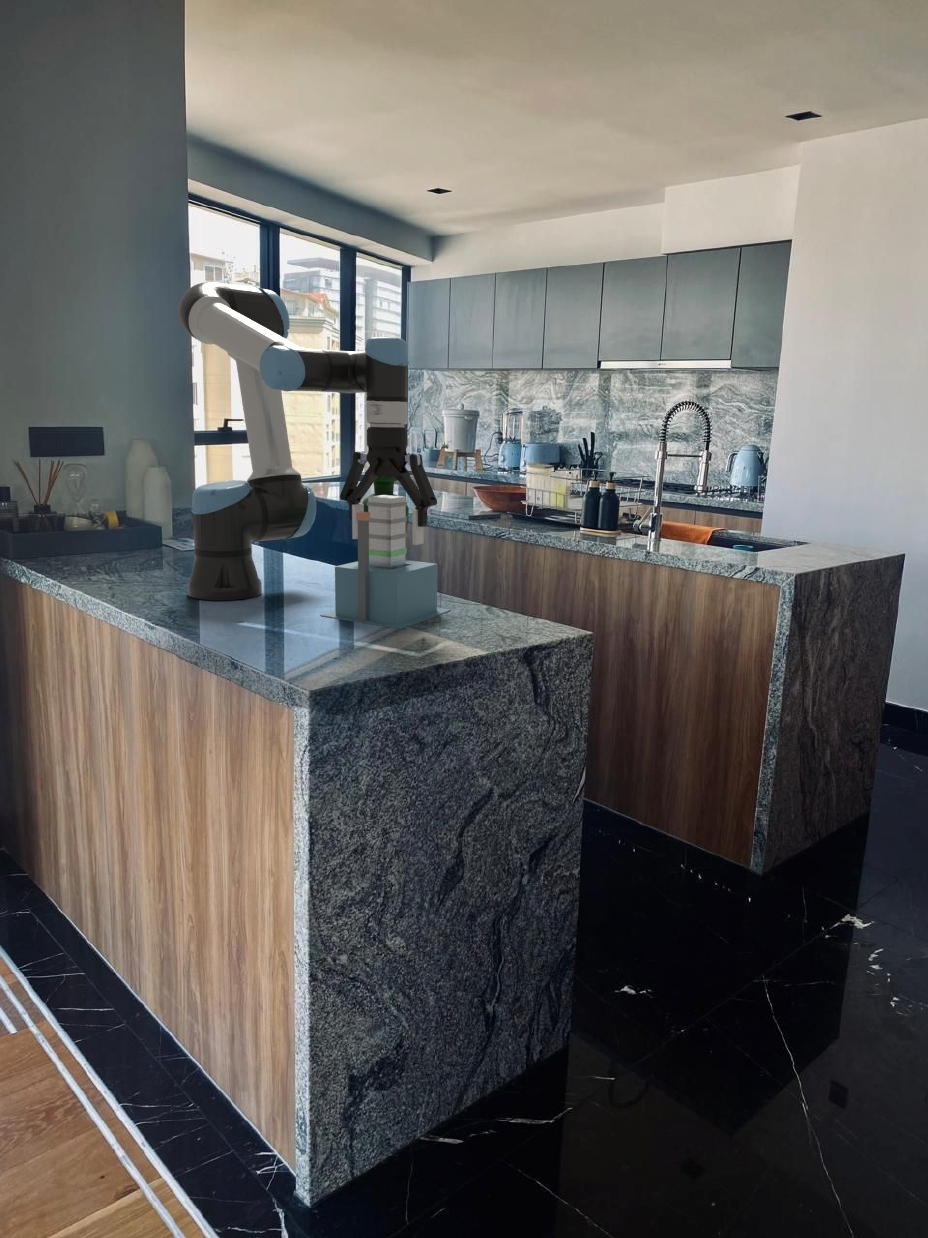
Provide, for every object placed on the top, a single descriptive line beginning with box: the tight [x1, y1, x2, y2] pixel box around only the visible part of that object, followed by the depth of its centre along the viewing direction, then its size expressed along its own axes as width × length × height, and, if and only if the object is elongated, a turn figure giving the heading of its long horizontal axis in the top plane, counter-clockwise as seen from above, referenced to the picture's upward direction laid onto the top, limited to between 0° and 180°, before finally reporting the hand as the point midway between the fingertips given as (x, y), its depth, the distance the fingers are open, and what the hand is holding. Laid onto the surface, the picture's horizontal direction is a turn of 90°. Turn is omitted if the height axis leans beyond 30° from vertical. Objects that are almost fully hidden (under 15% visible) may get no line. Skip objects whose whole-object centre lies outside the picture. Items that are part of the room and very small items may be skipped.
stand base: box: [320, 512, 452, 630], centre depth 166 cm, size 18×18×21 cm
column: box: [367, 495, 408, 570], centre depth 166 cm, size 5×5×22 cm
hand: (387, 541), depth 165 cm, fingers open, 13 cm apart
